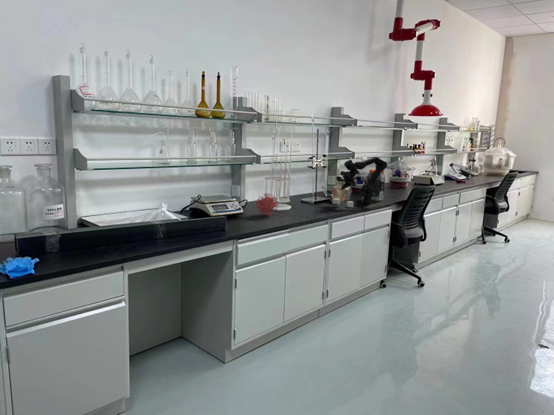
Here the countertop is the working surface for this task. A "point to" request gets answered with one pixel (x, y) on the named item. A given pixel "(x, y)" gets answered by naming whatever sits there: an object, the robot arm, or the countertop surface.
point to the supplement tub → (377, 185)
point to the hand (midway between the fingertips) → (339, 188)
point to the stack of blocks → (346, 196)
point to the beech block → (340, 192)
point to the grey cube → (350, 204)
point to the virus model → (267, 204)
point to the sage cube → (336, 201)
